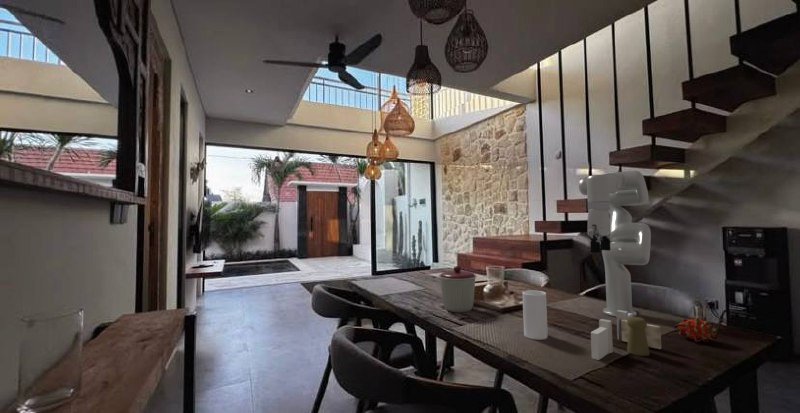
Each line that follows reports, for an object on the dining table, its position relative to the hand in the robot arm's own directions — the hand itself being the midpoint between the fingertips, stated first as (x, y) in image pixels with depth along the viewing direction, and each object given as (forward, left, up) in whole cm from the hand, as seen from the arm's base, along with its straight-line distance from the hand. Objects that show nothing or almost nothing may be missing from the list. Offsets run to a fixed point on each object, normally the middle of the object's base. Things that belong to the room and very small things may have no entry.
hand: (600, 251), depth 131 cm
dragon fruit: (-12, +25, -31) cm, 41 cm away
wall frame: (+14, +8, -30) cm, 34 cm away
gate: (+7, +13, -30) cm, 33 cm away
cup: (+23, -15, -31) cm, 41 cm away
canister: (+17, -58, -31) cm, 68 cm away
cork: (+13, +15, -31) cm, 36 cm away
